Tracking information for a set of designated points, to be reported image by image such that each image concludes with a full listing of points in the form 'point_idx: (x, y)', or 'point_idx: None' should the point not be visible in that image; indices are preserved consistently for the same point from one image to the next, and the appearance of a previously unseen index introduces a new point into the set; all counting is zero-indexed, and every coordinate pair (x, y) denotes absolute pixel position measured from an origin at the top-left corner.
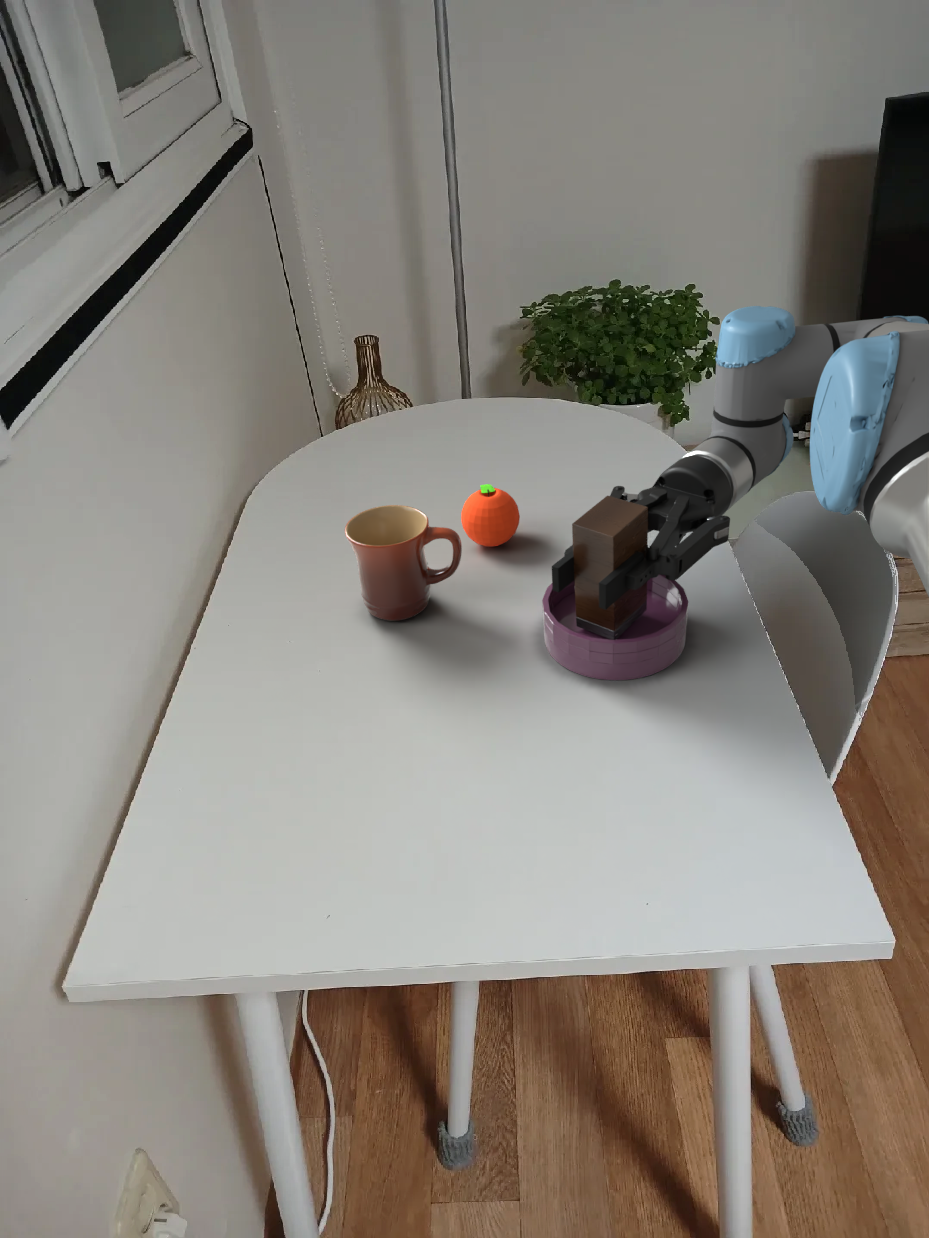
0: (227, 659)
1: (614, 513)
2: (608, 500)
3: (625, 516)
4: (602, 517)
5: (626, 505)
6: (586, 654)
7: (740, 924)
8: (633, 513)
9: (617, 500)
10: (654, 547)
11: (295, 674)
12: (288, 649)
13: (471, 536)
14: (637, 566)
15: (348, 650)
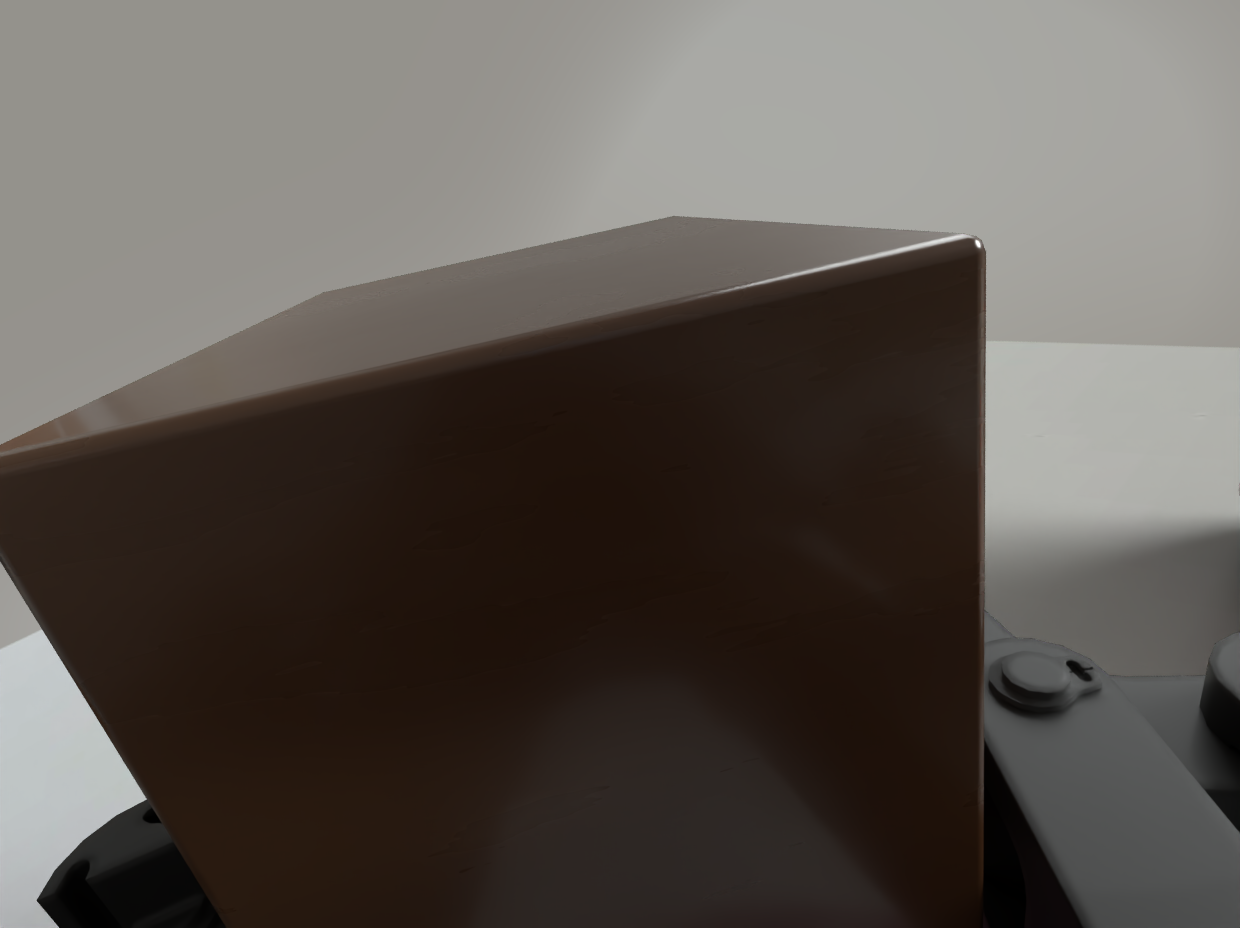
0: (1153, 365)
1: (476, 286)
2: (787, 251)
3: (322, 322)
4: (545, 261)
5: (424, 330)
6: None
7: (12, 657)
8: (235, 358)
9: (669, 287)
10: (107, 851)
11: (1044, 415)
12: (1161, 413)
13: None
14: None
15: (1112, 471)
